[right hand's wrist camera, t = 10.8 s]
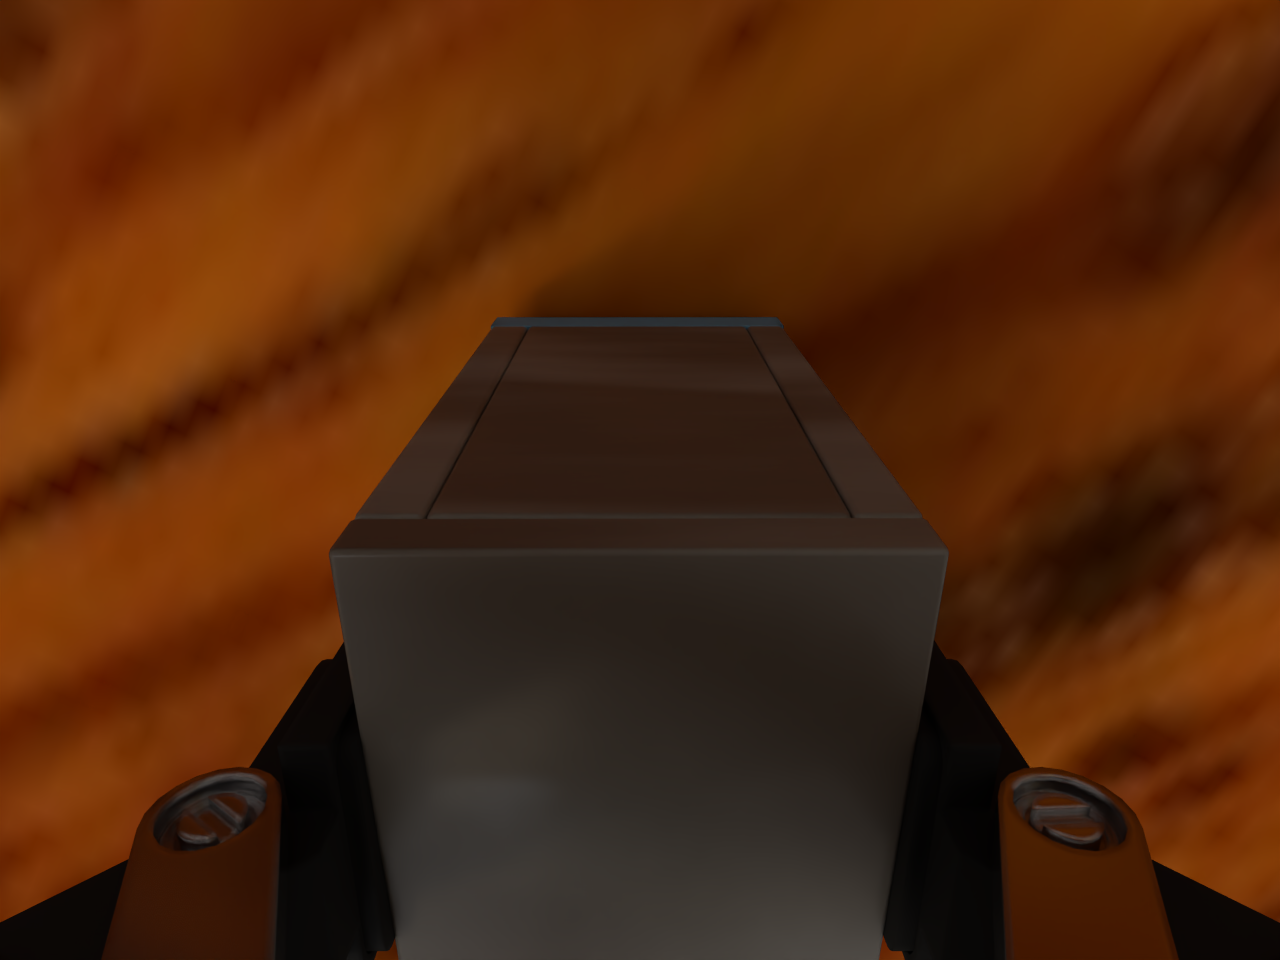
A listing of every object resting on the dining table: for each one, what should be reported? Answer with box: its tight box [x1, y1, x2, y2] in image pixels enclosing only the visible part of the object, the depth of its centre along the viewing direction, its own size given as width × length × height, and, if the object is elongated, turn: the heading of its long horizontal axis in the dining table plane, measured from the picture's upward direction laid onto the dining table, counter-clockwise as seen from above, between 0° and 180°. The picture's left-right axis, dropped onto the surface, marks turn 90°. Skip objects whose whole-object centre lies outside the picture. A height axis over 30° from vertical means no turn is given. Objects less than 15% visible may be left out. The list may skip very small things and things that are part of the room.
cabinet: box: [329, 317, 949, 960], centre depth 15 cm, size 16×6×10 cm, turn 0°
